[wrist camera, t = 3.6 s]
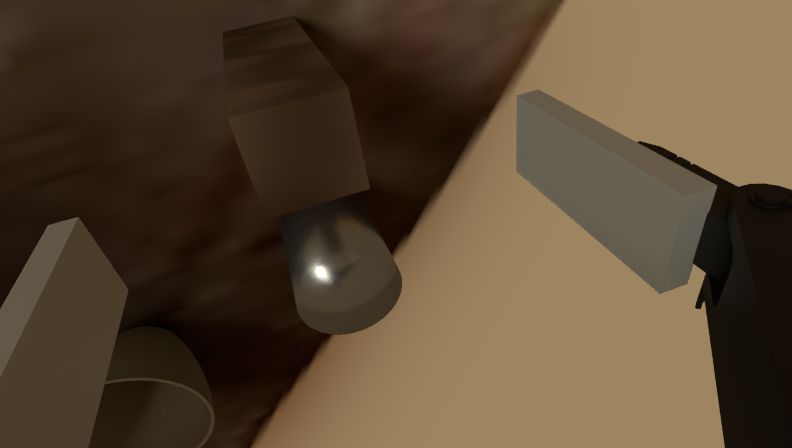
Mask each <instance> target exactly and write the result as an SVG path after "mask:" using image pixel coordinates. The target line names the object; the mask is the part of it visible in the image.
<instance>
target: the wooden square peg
mask: <svg viewBox="0 0 792 448" xmlns="http://www.w3.org/2000/svg"><path fill="white" fill-rule="evenodd" d="M223 47H224V67H225V86H226V106H227V119H228V122H229V124H230V127H231V130H232V132H233V135H234V137H235V140H236V142H237V145H238V147H239V150H240V153H241V155H242V158H243V160H244V163H245V165H246V168H247V171H248V173H249V176H250V178H251V181H252V183H253V186H254V188H255V191H256V194H257V196H258V199H259V201H260V204H261V206H262V209H263V212H264V214H265V217H266V219H267V220H268V219H271V218H275V217H278V216H281V215H285V214H288V213H291V212H295V211H298V210H301V209H305V208H308V207H311V206H315V205H318V204H321V203H325V202H328V201H331V200H335V199H338V198H341V197H345V196H348V195H351V194H355V193H358V192H361V191H364V190H368V189H370V185H369V181H368V176H367V172H366V167H365V162H364V158H363V153H362V148H361V144H360V139H359V134H358V130H357V125H356V120H355V116H354V111H353V106H352V102H351V97H350V93H349V88H348V86H347V85H346V83H345V82H344V81H343V80H342V78H341V77H340V76H339V74H338V73H337V72H336V71H335V69H334V68H333V67H332V66H331V64H330V63H329V62H328V60H327V59H326V58H325V57H324V55H323V54H322V53H321V52H320V50H319V49H318V48H317V46H316V45H315V44H314V43H313V41H312V40H311V39H310V38H309V36H308V35H307V34H306V32H305V31H304V30H303V29H302V27H301V26H300V25H299V24H298V22H297V21H296V20H295V18H294V17H293V16H292V17H288V18H283V19H279V20H275V21H270V22H266V23H261V24H257V25H253V26H248V27H244V28H239V29H235V30H231V31H226V32H223Z"/></svg>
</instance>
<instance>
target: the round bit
mask: <svg viewBox="0 0 792 448" xmlns="http://www.w3.org/2000/svg"><path fill="white" fill-rule="evenodd" d="M278 219H279V224H280V229H281V234H282V239H283V244H284V249H285V254H286V258H287V263H288V268H289V273H290V278H291V283H292V288H293V292H294V297H295V302H296V307H297V311H298V313H299V316H300V317H301V319H302V320H303V321H304V322H305V323H306V324H307V325H308V326H309V327H311V328H313V329H315V330H317V331H319V332H322V333H326V334H337V335H341V334H349V333H354V332H358V331H361V330H363V329H366V328H368V327H370V326H372V325H374V324H375V323H377V322H378V321H380V320H381V319H383V318H384V317H385V316H386V315H387V314H388V313H389V312H390V311H391V310H392V308H393V307H394V306H395V304H396V302H397V301H398V299H399V296H400V293H401V289H402V278H401V274H400V272H399V269H398V267H397V266H396V263H395V261H394V259H393V258H392V256H391V254H390V252H389V250H388V248H387V246H386V244H385V242H384V240H383V238H382V236H381V234H380V233H379V231H378V229H377V227H376V225H375V223H374V221H373V219H372V217H371V215H370V213H369V211H368V209H367V208H366V206H365V204H364V202H363V200H362V198H361V196H360V194H359V192H358V193H355V194H351V195H348V196H345V197H341V198H338V199H335V200H331V201H328V202H325V203H321V204H318V205H315V206H311V207H308V208H305V209H301V210H298V211H295V212H291V213H288V214H285V215H281V216H278Z"/></svg>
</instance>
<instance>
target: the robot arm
mask: <svg viewBox="0 0 792 448" xmlns="http://www.w3.org/2000/svg"><path fill="white" fill-rule="evenodd" d="M517 172H518V173H519V174H520V175H522V176H523V177H524V178H525V179H526V180H527V181H529V182H530V183H531V184H532V185H533V186H535V187H536V188H537V189H538V190H539V191H540V192H541V193H543V194H544V195H545V196H546V197H547V198H548V199H550V200H551V201H552V202H553V203H554V204H555V205H557V206H558V207H559V208H560V209H561V210H562V211H564V212H565V213H566V214H567V215H568V216H570V217H571V218H572V219H573V220H574V221H576V222H577V223H578V224H579V225H580V226H581V227H582V228H584V229H585V230H586V231H587V232H588V233H589V234H590V235H592V236H593V237H594V238H595V239H596V240H597V241H599V242H600V243H601V244H602V245H603V246H604V247H606V248H607V249H608V250H609V251H610V252H611V253H613V254H614V255H615V256H616V257H617V258H619V259H620V260H621V261H622V262H623V263H624V264H625V265H627V266H628V267H629V268H630V269H631V270H633V271H634V272H635V273H636V274H637V275H639V276H640V277H641V278H642V279H643V280H644V281H645V282H647V283H648V284H649V285H650V286H651V287H652V288H654V289H655V290H656V291H657V292H658V293H659V294H661V293H664V292H667V291H669V290H672V289H674V288H677V287H680V286H683V285H685V284H687V283H688V280H689V277H690V273H691V270H692V267H693V264H695V265H696V266H697V267H699V268H700V269H701V270H703V271H704V272H706V275H705V278H704V281H703V284H702V287H701V290H700V293H699V296H698V299H697V302H696V306H695V308H696V309H701V306H702V303H703V302H704V301H705V306H706V313H707V321H708V328H709V335H710V343H711V349H712V357H713V364H714V372H715V379H716V386H717V394H718V401H719V408H720V415H721V423H722V429H723V437H724V445H725V448H792V190H790V189H787V188H784V187H781V186H777V185H769V184H748V185H744V186H740V187H737V186H735V185H734V184H732V183H730V182H728V181H726V180H724V179H722V178H720V177H718V176H716V175H714V174H712V173H711V172H709V171H707V170H705V169H703V168H701V167H699V166H697V165H695V164H692V165H691V163H690V162H689V161H687V160H685V159H683V158H681V157H677V155H676V154H674V153H672V152H670V151H668V150H666V149H664V148H662V147H660V146H656V145H652V144H648V143H644V142H641V141H639V142H635V141H633V140H631V139H629V138H628V137H625V136H624V135H622V134H620V133H618V132H616V131H615V130H613V129H611V128H609V127H607V126H605V125H603V124H602V123H600V122H598V121H596V120H594V119H592V118H590V117H588V116H587V115H585V114H583V113H581V112H579V111H577V110H575V109H574V108H572V107H570V106H568V105H566V104H564V103H562V102H560V101H559V100H557V99H555V98H553V97H551V96H549V95H548V94H546V93H544V92H542V91H540V90H535V91H532V92H528V93H525V94H521V95H517ZM127 294H128V288H127V287H126V286H125V284H124V283H123V281H122V280H121V278H120V277H119V275H118V274H117V272H116V271H115V270H114V268H113V267H112V265H111V264H110V262H109V261H108V259H107V258H106V256H105V255H104V253H103V252H102V251H101V249H100V248H99V246H98V245H97V243H96V242H95V240H94V239H93V237H92V236H91V235H90V233H89V232H88V230H87V229H86V227H85V226H84V224H83V223H82V221H81V220H80V218H79V217H76V218H73V219H69V220H66V221H62V222H58V223H55V224H51V225H48V227H47V228H46V230H45V232H44V233H43V235H42V237H41V239H40V240H39V242H38V244H37V246H36V247H35V249H34V251H33V253H32V254H31V256H30V258H29V260H28V261H27V263H26V265H25V267H24V268H23V270H22V272H21V274H20V275H19V277H18V279H17V281H16V282H15V284H14V286H13V288H12V289H11V291H10V293H9V295H8V296H7V298H6V300H5V302H4V303H3V305H2V307H1V309H0V448H88V447H89V443H90V439H91V435H92V431H93V427H94V423H95V419H96V415H97V412H98V408H99V404H100V400H101V396H102V392H103V388H104V384H105V380H106V376H107V372H108V368H109V365H110V361H111V357H112V353H113V349H114V345H115V341H116V337H117V333H118V329H119V325H120V321H121V318H122V314H123V310H124V306H125V302H126V298H127Z"/></svg>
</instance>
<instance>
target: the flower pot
mask: <svg viewBox="0 0 792 448" xmlns="http://www.w3.org/2000/svg"><path fill="white" fill-rule="evenodd" d="M214 423H215V415H214V407H213V401H212V397H211V393H210V389H209V386H208V383H207V380H206V378H205V375H204V373H203V371H202V369H201V367H200V365H199V363H198V361H197V360H196V358H195V356H194V355H193V353H192V352H191V351H190V349H189V348H188V347H187V346H186V345H185V344H184V342H183V341H182V340H181V339H180V338H178V337H177V336H176V335H175V334H174V333H172V332H170V331H168V330H166V329H163V328H160V327H153V326H141V327H135V328H131V329H128V330H126V331H123V332H121V333H120V334H118V335H117V337H116V341H115V345H114V349H113V353H112V357H111V361H110V365H109V368H108V372H107V376H106V380H105V384H104V388H103V392H102V396H101V400H100V404H99V408H98V412H97V415H96V419H95V423H94V427H93V431H92V435H91V439H90V443H89V447H88V448H201V447H202V446H203V445H204V444H205V442H206V441H207V440H208V438H209V437H210V435H211V433H212V431H213V428H214Z"/></svg>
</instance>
